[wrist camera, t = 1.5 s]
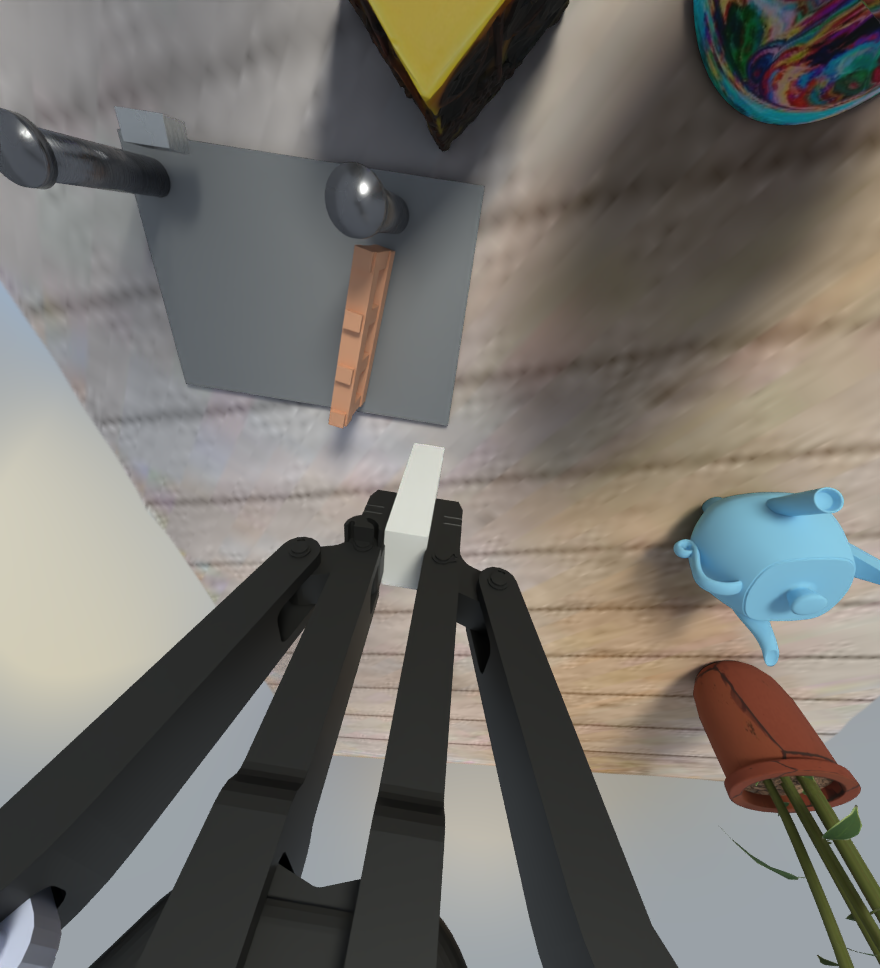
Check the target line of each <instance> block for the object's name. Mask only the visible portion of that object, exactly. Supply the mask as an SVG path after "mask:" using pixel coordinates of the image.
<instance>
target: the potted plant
mask: <svg viewBox="0 0 880 968" xmlns="http://www.w3.org/2000/svg"><path fill="white" fill-rule="evenodd" d="M693 696H694V699H695V703H696V707H697V711H698V714H699V718H700V720H701V723H702V725H703V727H704V730H705V732H706V734H707V736H708V739H709V741H710V743H711V745H712V748H713V750H714V752H715V754H716V756H717V759H718V761H719V763H720V765H721V767H722V770H723V772H724V774H725V776H726V779H725V782H724V785H725V788H726V791H727V793H728V795H729V798H730V799H731V801H733V802H734V803H735V804H737V805H739V806H742V807H744V808H748V809H751V810H757V811H762V812H774V813H778V816H779V814H780V817H781V819H782V821H783V823H784V826H785V828H786V830H787V833H788V835H789V837H790V840H791V842H792V845H793V847H794V850H795V852H796V854H797V857H798V859H799V862H800V864H801V866H802V869H803V871H804V874H805V877H806V879H807V882H808V884H809V887H810V889H811V892H812V894H813V896H814V899H815V902H816V904H817V907H818V909H819V912H820V915H821V917H822V920H823V923H824V925H825V928H826V931H827V933H828V936H829V939H830V942H831V944H832V947H833V950H834V953H835V956H836V959H837V962H838V964H836V963H834V962H831V961H828V960H826V959H823V958H822V957H820V956H819V955H817V956H818V957H819V959H820V962H821V963H822V964H824V965H830V966H839V968H854V966H853V964H852V961H851V959H850V956H849V953H848V951H847V949H848V948H846V946H845V943H844V941H843V938H842V935H841V933H840V931H839V928H838V925H837V923H836V920H835V918H834V915H833V913H832V911H831V908H830V906H829V903H828V901H827V898H826V896H825V894H824V891H823V889H822V886H821V884H820V882H819V879H818V877H817V875H816V872H815V870H814V868H813V865H812V863H811V861H810V858H809V856H808V854H807V852H806V849H805V847H804V845H803V842H802V840H801V838H800V835H799V833H798V831H797V829H796V826H795V824H794V822H793V820H792V818H791V816H790V814H789V813H797V815H798V817H799V818H800V820H801V822H802V824H803V826H804V828H805V829H806V831H807V833H808V835H809V837H810V838H811V840H812V842H813V844H814V846H815V848H816V849H817V851H818V853H819V855H820V857H821V859H822V860H823V862H824V864H825V866H826V867H827V869H828V871H829V873H830V875H831V877H832V879H833V880H834V882H835V884H836V886H837V888H838V890H839V891H840V893H841V895H842V897H843V899H844V900H845V902H846V904H847V906H848V908H849V909H850V911H851V914H850V915H849V916H848V917H847V918H846V919H849V920H854V921H856V922H857V924H858V926H859V928H860V929H861V931H862V933H863V935H864V937H865V939H866V941H867V942H868V944H869V946H870V948H871V950H872V951H873V953H874V955H872V954H868V955H872V956H875V957H876V958H877V960H878V962H879V964H880V929H879V928H878V926H877V924H876V923H875V921H874V919H873V918H872V916H871V914H873V913H874V914H875V916H876V917H877V919H878V921H879V923H880V887H879V886H878V884H877V882H876V881H875V879H874V877H873V875H872V874H871V872H870V871H869V869H868V868H867V866H866V864H865V862H864V860H863V859H862V857H861V855H860V854H859V852H858V850H857V849H856V847H855V846H854V844H853V842H852V841H851V838H852V837H854V836H856V835H858V834H859V832H860V830H861V827H862V824H861V821H860V818H859V815H858V806H857V805H855V807H854V808H853V810H852V812H851V814H850V815H848V816H847V817H845V818H844V819H842V820H841V821H839V819H838V817H837V816H836V814H835V812H834V811H833V809H832V807H835V806H838V805H842V804H844V803H846V802H848V801H851V800H852V799H854V798H855V797H857V796H858V794H859V793H860V791H861V787H860V785H859V783H858V782H857V781H856V779H855V778H854V777H853V775H852V774H851V773H850V772H849V771H848V770H847V769H846V768H844V767H842V766H840V765H838V764H837V763H836V761H835V760H834V758H833V757H832V755H831V754H830V752H829V751H828V749H827V748H826V746H825V745H824V743H823V742H822V741H821V739H820V738H819V736H818V735H817V733H816V732H815V730H814V729H813V727H812V726H811V725H810V723H809V722H808V720H807V719H806V718H805V716H804V715H803V713H802V712H801V710H800V709H799V708H798V706H797V705H796V703H795V702H794V701H793V699H792V698H791V697H790V696H789V695H788V694H787V693H786V692H785V691H784V690H783V688H782V687H781V686H780V685H779V684H778V683H777V682H776V681H775V680H774V679H773V678H772V677H771V676H769V675H767V674H766V673H764V672H762V671H761V670H759V669H758V668H756V667H754V666H752V665H749V664H746V663H742V662H738V661H720V662H716V663H713V664H710V665H708V666H706V667H705V668H703V669H702V670H701V671H700V673H699V674H698V675H697V677H696V679H695V685H694V691H693ZM810 811H816V813H817V814H818V816H819V818H820V819H821V821H822V823H823V825H824V826H825V828H826V830H827V832H826V833H825V834H824V835H823V834H822V832H821V830H820V829H819V827H818V825H817V824H816V822H815V820H814V818H813V817H812V815H811V813H810ZM826 839H830V840H833V842H834V844H835V846H836V847H837V849H838V851H839V852H840V854H841V856H842V858H843V859H844V861H845V863H846V865H847V867H848V868H849V870H850V872H851V874H852V875H853V877H854V879H855V880H856V882H857V884H858V886H859V887H860V889H861V891H862V893H863V895H864V896H865V898H866V900H867V901H868V903H869V905H870V907H871V908H872V910H873V911H872V912H870V913H869V911H868V910H867V908H866V906H865V904H864V903H863V901H862V899H861V898H860V896H859V894H858V893H857V891H856V889H855V888H854V886H853V884H852V883H851V881H850V880H849V878H848V876H847V874H846V873H845V871H844V869H843V867H842V866H841V864H840V862H839V861H838V859H837V857H836V856H835V854H834V853H833V851H832V849H831V847H830V846H829V844H831V842H828V841H829V840H826ZM733 841H734V840H733ZM735 843H736V842H735ZM736 844H737V843H736ZM737 845H738V844H737ZM738 846H739V847H740V848H741V849H742V850H743V851H745V852H746V853H747V854H748V855H749V856H750V857H751V858H752V859H753V860H755V861H756V862H757V863H758V864H760V865H762V866H764V867H766V868H768V869H770V870H772V871H774V872H776V873H778V874H780V875H782V876H784V877H785V878H787V879H791V880H793V879H794V880H798V878H799V877H796V876H794V875H792V874H790V873H787V872H784V871H781V870H778V869H775V868H772V867H770V866H768V865H767V864H765V863H763V862H762V861H760V860H758V859H757V858H755V857H753V856H752V855H750V854H749V853H748V852H747V851H746V850H744V849H743V848H742V847H741V846H740V845H738ZM801 878H803V877H801ZM850 950H851V949H850ZM855 952H856V951H855ZM865 954H866V953H865Z"/></svg>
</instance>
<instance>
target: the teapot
mask: <svg viewBox="0 0 880 968" xmlns="http://www.w3.org/2000/svg"><path fill="white" fill-rule="evenodd" d="M843 505H844V499H843V496H842V495H841V493H840V492H839V491H837V490H836V489H833V488H830V487H825V488H820V489H815V490H810V491H805V492H800V493H795V494H794V493H783V492H758V493H747V494H740V495H734V496H729V497H726V498H721V497H714V498H710V499H708V500H707V501H705V503H704V504H703V506H702V510H703V511H704V513H703V514H702V516H701V517H700V519H699V520H698V522H697V524H696V525H695V527H694V529H693V532H692V535H691V539H690V540H688V539H683V540H680V541H678V542H677V543H675V545H674V552H675V554H676V555H677V556H679V557H681V558H689V564H690V568H691V570H692V575H693V578H694V580H695V582H696V583H697V584H698V585H699V586H700V587H701V588H702V589H704V590H706V591H708V592H710V593H711V594H712V595H713V596H715V597H716V598H717V599H719V600H720V601H721V602H723V603H724V604H726V605H727V606H729V607H730V608H732V609H733V611H734V612H735V613H736V615H737V616H738V617H739V618H740V620H741V621H742V622H743V623H744V624H745V625H746V626H747V628H748V629H749V630H750V631H751V632H752V634H753V635H754V636H755V638H756V640H757V641H758V643H759V645H760V647H761V649H762V653H763V657H764V661H765V663H766V665H768V666H774V665H775V664H776V663H777V661H778V658H779V649H778V645H777V642H776V638H775V636H774V633H773V630H772V627H771V625H770V622H769V621H793V620H805V619H811V618H815V617H818V616H820V615H822V614H824V613H826V612H827V611H829V610H830V609H831V608H833V607H834V606H835V605H836V604H837V603H838V602H839V601H840V600H841V599H842V598H843V596H844V595H845V594H846V593H847V591H848V590H849V588H850V586H851V584H852V581H853V578H854V577H855V578H859V579H862V580H866V581H869V582H872V583H876V584H879V585H880V560H879V559H877V558H875V557H874V556H872V555H870V554H868V553H866V552H865V551H863V550H861V549H859V548H857V547H856V546H854V545H852V544H850V543H848V540H847V538H846V536H845V534H844V531H843V529H842V528H841V526H840V524H839V523H838V521H837V520H836V519H835V518H834V516H833V515H832V514H831V513H835V512H838V511H839V510H840V509H841V508H842V507H843Z"/></svg>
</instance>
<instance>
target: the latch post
mask: <svg viewBox="0 0 880 968" xmlns="http://www.w3.org/2000/svg"><path fill="white" fill-rule="evenodd" d="M114 107H115V111H116V115H117V119H118V122H119V126H120V130H121V133H122V137H123V141H125V142H128V143H132V144H135V145H139V146H142V147H146V148H150V149H157V150H163V151H170V152H176V153H182V154H189V155H190V150H189V144H188V139H187V134H186V129H185V124H184V122H182V121H179V120H177V119H174V118H172V117H169V116H167V115H164V114H162V113H155V112H149V111H142V110H136V109H130V108H123V107H117V106H114ZM0 172H1V173H2V174H3V175H4V176H5V177H7V178H8V179H9V180H11V181H12V182H14V183H16V184H18V185H20V186H23V187H29V188H37V189H48V188H51V187H52V186H53V185H54V184H55V183H62V184H69V185H76V186H83V187H90V188H97V189H104V190H111V191H118V192H125V193H132V194H139V195H146V196H153V197H160V198H162V197H166V196H167V195H168V194H169V192H170V189H171V182H170V177H169V175H168V172H167V171H166V169H165V167H164V166H163V165H162V164H161V163H160V162H159V161H158V160H156V159H155V158H152V157H149V156H145V155H141V154H137V153H133V152H130V151H126V150H122V149H118V148H114V147H111V146H107V145H103V144H99V143H95V142H91V141H88V140H84V139H80V138H76V137H72V136H68V135H65V134H61V133H57V132H53V131H49V130H46V129H42V128H38V127H36V126H35V125H34V124H33V123H32V122H31V121H30V120H28V119H27V118H26V117H24V116H23V115H21V114H19V113H16V112H13V111H10V110H6V109H2V108H0Z"/></svg>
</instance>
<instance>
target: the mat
mask: <svg viewBox="0 0 880 968" xmlns="http://www.w3.org/2000/svg"><path fill="white" fill-rule="evenodd" d="M117 131H118V134H119V138H120V142H121V145H122V149H123V150H126V151H130V152H133V153H137V154H141V155H145V156H149V157H152V158H155V159H156V160H158V161H159V162H160V163H161V164H162V165H163V166H164V167H165V169H166V171H167V172H168V175H169V177H170V182H171V189H170V192H169V194H168V195H167V196H166V197H162V198H160V197H153V196H146V195H139V194H135V197H136V201H137V205H138V208H139V212H140V216H141V219H142V223H143V227H144V230H145V234H146V238H147V241H148V245H149V249H150V252H151V256H152V260H153V264H154V267H155V271H156V275H157V278H158V282H159V286H160V289H161V293H162V297H163V300H164V304H165V308H166V312H167V315H168V319H169V323H170V326H171V330H172V334H173V337H174V341H175V345H176V348H177V352H178V356H179V360H180V363H181V367H182V371H183V374H184V378H185V382H186V384H190V385H196V386H202V387H209V388H215V389H221V390H227V391H234V392H240V393H246V394H252V395H259V396H265V397H271V398H277V399H283V400H290V401H296V402H302V403H308V404H315V405H321V406H327V407H331V403H332V396H333V390H334V383H335V376H336V369H337V362H338V356H339V349H340V342H341V335H342V328H343V321H344V315H345V308H346V301H347V294H348V287H349V280H350V274H351V267H352V260H353V253H354V246H355V245H380V246H382V247H385V248H388V249H390V250H393V251H395V256H394V261H393V266H392V271H391V276H390V281H389V286H388V291H387V296H386V301H385V305H384V310H383V315H382V320H381V325H380V330H379V335H378V340H377V345H376V350H375V355H374V360H373V365H372V370H371V375H370V379H369V384H368V389H367V394H366V399H365V402H364V403H363V405H362V406H361V407H360V406H359V407H358V409H357V410H356V411H358V412H364V413H371V414H377V415H383V416H389V417H396V418H402V419H408V420H414V421H421V422H427V423H433V424H439V425H445V426H448V421H449V415H450V408H451V402H452V395H453V389H454V382H455V376H456V369H457V363H458V356H459V350H460V343H461V337H462V330H463V324H464V317H465V311H466V304H467V298H468V292H469V285H470V279H471V272H472V266H473V259H474V253H475V246H476V240H477V233H478V227H479V220H480V214H481V207H482V201H483V194H484V188H485V186H482V185H475V184H469V183H462V182H456V181H449V180H443V179H437V178H430V177H424V176H417V175H411V174H404V173H398V172H392V171H385V170H379V169H372V168H368V169H370V170H371V171H372V172H374V173H375V174H376V175H377V177H378V178H379V179H380V181H381V182H382V184H383V186H384V188H385V189H387V190H389V191H390V192H392V193H394V194H396V195H397V196H399V197H401V198H402V199H403V200H404V201H405V203H406V204H407V207H408V210H409V222H408V225H407V227H406V228H405V229H404V231H402V232H401V233H399V234H388V233H379V232H378V233H377V234H376V235H374V236H373V237H370V238H367V239H354V238H350V237H348V236H346V235H344V234H343V233H341V232H340V231H339V230H338V229H337V228H336V227H335V226H334V224H333V223H332V221H331V219H330V217H329V215H328V212H327V209H326V205H325V187H326V183H327V180H328V178H329V176H330V174H331V173H332V171H333V170H334V169H335V168H336V167H337V166H339V165H341V164H340V163H334V162H327V161H321V160H314V159H308V158H301V157H295V156H289V155H282V154H276V153H269V152H263V151H256V150H250V149H243V148H237V147H231V146H224V145H218V144H211V143H205V142H198V141H192V140H188V144H189V150H190V155H189V154H182V153H176V152H170V151H163V150H157V149H150V148H146V147H142V146H139V145H135V144H132V143H128V142H125V141H123V137H122V133H121V130H120V129H117Z"/></svg>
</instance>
